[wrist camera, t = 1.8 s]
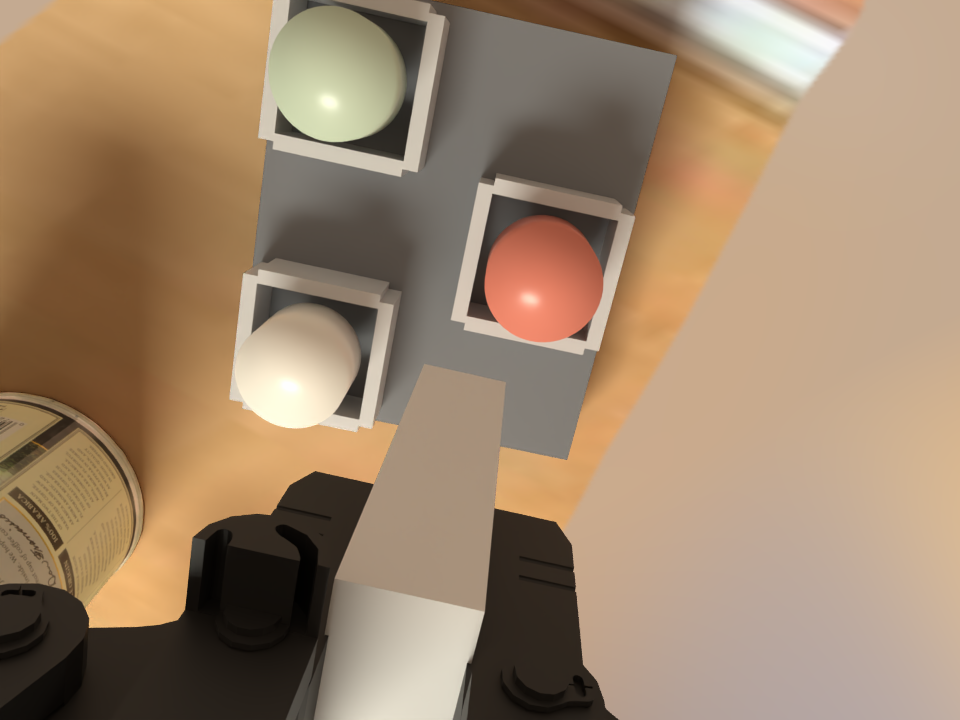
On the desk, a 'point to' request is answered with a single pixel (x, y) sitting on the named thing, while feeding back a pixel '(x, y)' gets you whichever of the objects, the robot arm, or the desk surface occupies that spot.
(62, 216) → the desk surface
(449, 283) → the control panel
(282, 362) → the white button
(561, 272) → the red button
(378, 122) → the sage button
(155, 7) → the desk surface
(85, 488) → the coffee can
